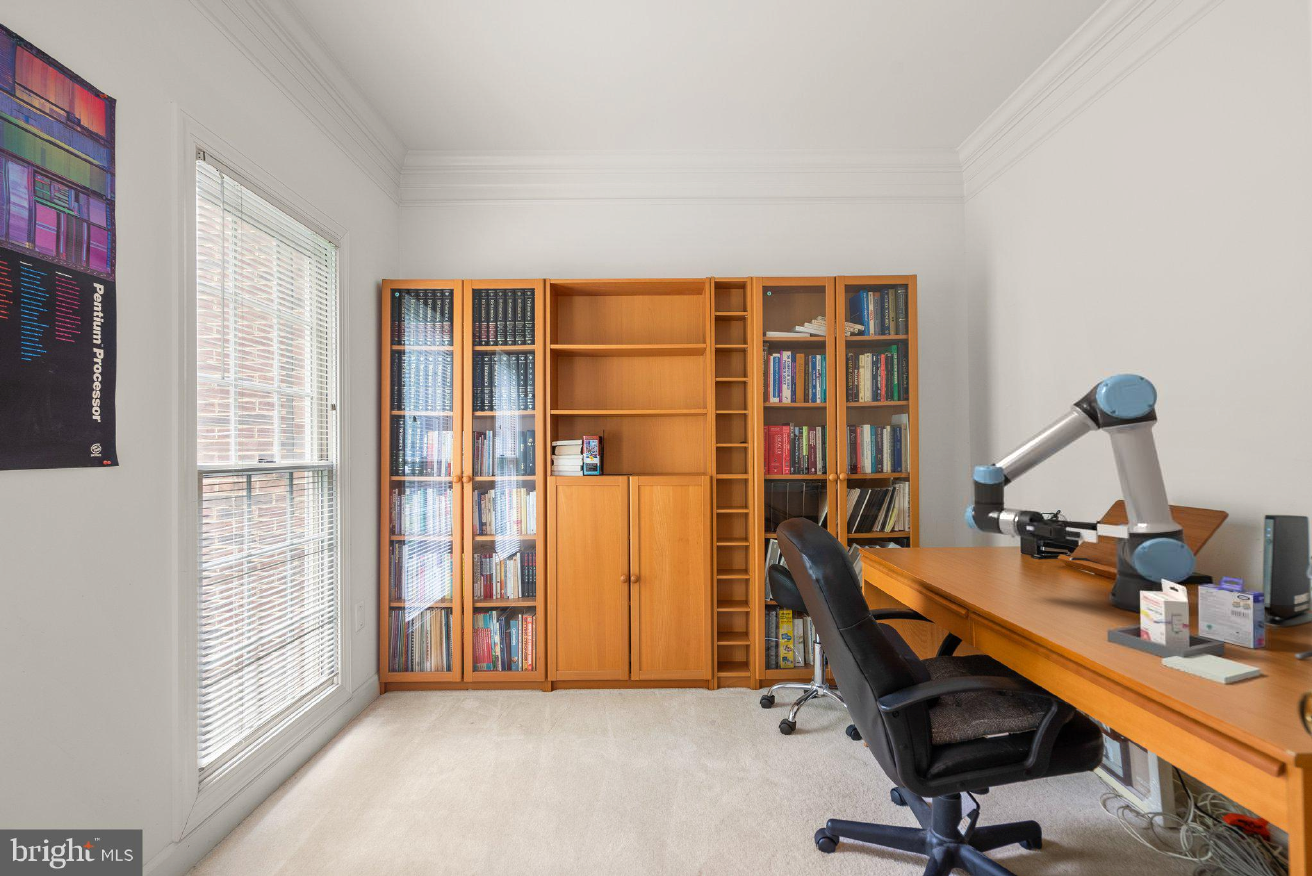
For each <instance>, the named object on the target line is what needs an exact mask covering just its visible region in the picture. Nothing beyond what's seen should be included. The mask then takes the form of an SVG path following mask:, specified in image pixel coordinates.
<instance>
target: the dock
mask: <svg viewBox="0 0 1312 876" xmlns="http://www.w3.org/2000/svg"><path fill="white" fill-rule="evenodd" d="M1106 631H1107V633H1106V634H1107V642H1110V643H1113V644H1117V645H1121V646H1124V647H1126V646H1127V648H1130V649H1133V648H1134V649H1133V650H1136V649H1138V650H1137V651H1141V652H1143V651H1145V652H1144V653H1147V654H1150V653H1151V654H1150V655H1154V656H1157V655H1158V656H1157V657H1160V656H1161V657H1160V658H1162V659H1164V658H1168V657H1173V656H1179V657H1182V658H1185V657H1190V656H1194V655H1199V654H1203V653H1205V654H1209V655H1213V656H1216V657H1219V656H1224V655H1226V653H1225V652H1226V650H1225V644H1226V642H1223V641H1219V640H1214V639H1210V638H1206V637H1202V636H1199V635H1195V634H1192V633H1189V647H1186V648H1182V649H1179V648H1175V647H1171V646H1168V645H1164V644H1161V643H1157V642H1154V641H1150V640H1147V639H1143V638H1141V623H1140V624H1134V625H1128V626H1123V627H1117V628H1112V629H1107V630H1106ZM1190 646H1191V647H1190Z"/></svg>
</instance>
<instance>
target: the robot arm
mask: <svg viewBox="0 0 1312 876" xmlns="http://www.w3.org/2000/svg"><path fill="white" fill-rule="evenodd" d="M1157 399H1158V393H1157V389H1156V387H1155V386H1154V384H1153V383H1152V382H1151V381H1150V380H1149V379H1147V378H1146V377H1143V376H1141V375H1138V374H1134V373H1133V374H1132V373H1123V374H1120V373H1119V374H1116V375H1113V376H1109V377H1108V378H1106V379H1104V380H1102V381H1100V382H1098V383H1097V384H1095V386H1093V387H1091V389H1090V390H1089V391H1088V392H1087V393H1086V394H1085V395H1084V396H1082V397H1081V398H1080V399H1079V400H1078V401H1076V402H1075V403H1073V404H1072V405H1070V410H1069V411H1068V412H1066V413H1065V414H1063V415H1062V416H1061V417H1059V418H1057V419H1056V420H1055V421H1053V422H1052V423H1050V424H1048V425H1047V426H1046V427H1044V428H1043V429H1041V430H1039V431H1038V432H1037V433H1036V434H1034V435H1032V436H1030V438H1028V439H1027V440H1025V441H1024V442H1022V443H1021V444H1019V445H1017V446H1016V447H1014V448H1013V449H1012V450H1011V451H1009V452H1008V453H1006V454H1004V455H1003V456H1001V457H1000V458H999V459H997V460H996V461H994V462H993V463H992V464H990V465H976V466H975V467H974V469H973V479H972V483H973V492H974V493H973V494H974V502H973V504H971V505H969V506H968V507H967V508H966V509H965V514H964V521H965V524H966V525H967V527H968V528H970V529H971V530H974V531H978V532H982V533H989V534H998V535H1006V536H1010V537H1011V539H1015V538H1016V537H1019V538H1020V537H1022V538H1025V539H1031V540H1038V539H1040V538H1042V536H1043V537H1048V538H1052V539H1058V541H1060V542H1065V541H1066V539H1067V540H1072V541H1073V540H1074V541H1079V542H1087V543H1088V542H1089V543H1096V544H1097V543H1099V536H1106V537H1112V538H1113V537H1115V538H1116V540H1115V541H1116V578H1115V582H1113V586H1112V587H1111V591H1110V593H1109V603H1110V604H1111V605H1113V606H1114V607H1116V608H1119V609H1123V610H1127V611H1132V612H1137V613H1140V591H1159V592H1163V589H1162V582H1161V580H1162V579H1164V580H1167V581H1170V582H1173V583H1175V584H1177V583H1179V582H1183V581H1184V580H1186V579H1187V578H1189V577H1190V576H1191V575H1192V574H1193V572H1194V570H1195V568H1196V556H1195V554H1194V553H1193V550H1191V548H1190V547H1189V546H1188V545H1187V543H1186V538H1185V534H1184V530H1183V526H1181V525H1180V524H1178V523H1177V522H1175V521H1174V520H1173V517H1172V513H1171V508H1170V504H1169V501H1168V496H1167V491H1166V487H1165V483H1164V479H1163V473H1162V469H1161V466H1160V465H1161V464H1160V461H1159V456H1158V452H1157V447H1156V443H1155V439H1154V434H1153V427H1154V426H1155V425H1156V424H1157V423H1158V416H1157V411H1156V408H1155V407H1156V404H1157ZM1100 430H1101V431H1103V432H1105V433H1107V434H1108V435H1109V438H1110V443H1111V448H1112V452H1113V457H1114V461H1115V466H1116V469H1117V475H1118V480H1119V484H1120V488H1121V492H1122V498H1123V502H1124V506H1125V510H1126V516H1127V519H1128V520H1127V521H1128V524H1118V525H1114V524H1113V525H1111V524H1102V523H1101V521H1099V520H1096V521H1095V522H1086V521H1074V520H1072V521H1071V520H1065V519H1055V518H1047V519H1046V518H1045V517H1044V515H1043V514H1042V513H1041V512H1040V511H1036V510H1027V509H1026V510H1024V509H1021V508H1009V507H1008V508H1007V507H1006V508H1005V487H1007V486H1008V485H1010V484H1011V483H1012V482H1014V481H1015V480H1017V479H1019V478H1020V477H1021V476H1023V475H1025V474H1026V473H1028V472H1029V471H1031V470H1032V469H1034V468H1035V467H1037V466H1039V465H1040V464H1042V463H1043V462H1045V461H1046V460H1047V459H1050V458H1051V457H1053V456H1054V455H1056V454H1057V453H1058V452H1060V451H1062V450H1064V449H1065V448H1066V447H1068V446H1070V445H1071V444H1072V443H1074V442H1076V441H1077V440H1078V439H1080V438H1081V437H1083V436H1085V435H1086V434H1088V433H1089V432H1091V431H1094V432H1095V431H1096V432H1097V431H1100ZM1170 589H1171V590H1174V591H1176V589H1175V587H1170Z"/></svg>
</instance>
